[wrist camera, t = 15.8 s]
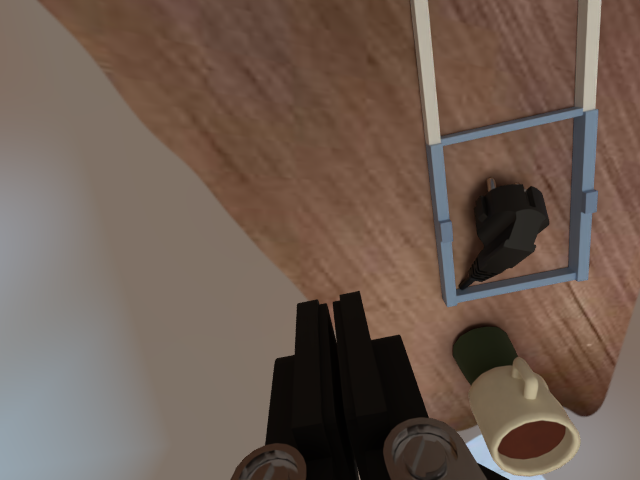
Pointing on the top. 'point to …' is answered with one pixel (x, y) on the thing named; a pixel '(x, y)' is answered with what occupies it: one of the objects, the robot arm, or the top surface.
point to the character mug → (514, 406)
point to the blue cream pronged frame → (582, 135)
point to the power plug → (506, 228)
